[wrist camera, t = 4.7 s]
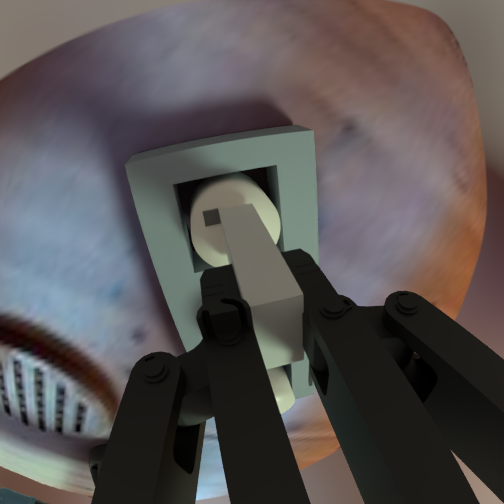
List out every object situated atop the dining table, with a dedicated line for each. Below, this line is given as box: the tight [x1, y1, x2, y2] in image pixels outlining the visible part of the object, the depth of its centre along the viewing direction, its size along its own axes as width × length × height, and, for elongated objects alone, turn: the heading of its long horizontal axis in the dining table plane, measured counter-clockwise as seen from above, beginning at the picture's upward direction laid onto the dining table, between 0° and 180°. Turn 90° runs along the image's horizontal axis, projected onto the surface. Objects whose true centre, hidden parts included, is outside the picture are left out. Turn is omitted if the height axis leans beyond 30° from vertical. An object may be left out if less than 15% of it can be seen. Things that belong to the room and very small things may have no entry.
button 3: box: [190, 172, 280, 267], centre depth 15 cm, size 4×4×3 cm
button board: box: [124, 125, 318, 399], centre depth 20 cm, size 9×22×2 cm, turn 6°
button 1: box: [267, 365, 295, 414], centre depth 22 cm, size 4×4×3 cm
